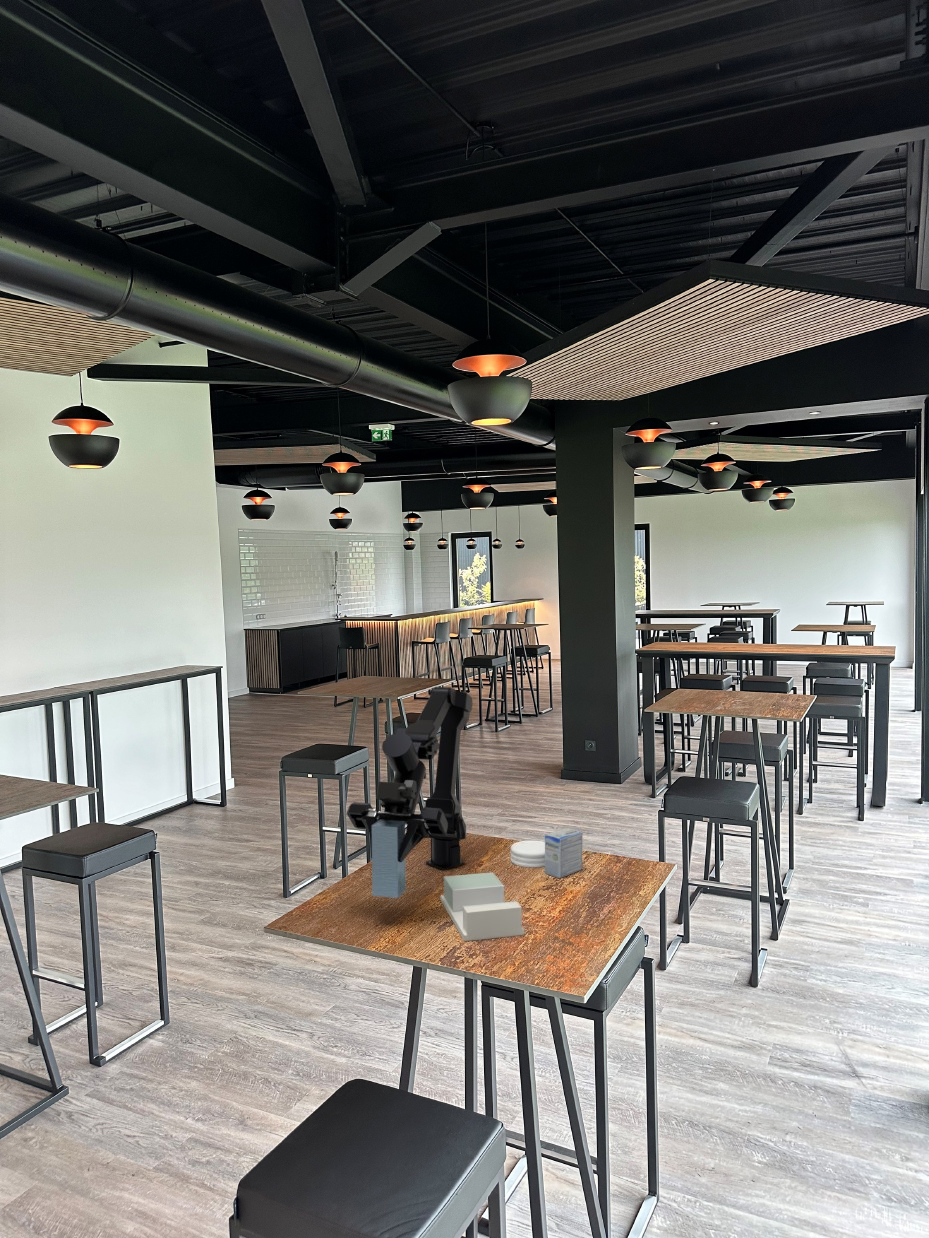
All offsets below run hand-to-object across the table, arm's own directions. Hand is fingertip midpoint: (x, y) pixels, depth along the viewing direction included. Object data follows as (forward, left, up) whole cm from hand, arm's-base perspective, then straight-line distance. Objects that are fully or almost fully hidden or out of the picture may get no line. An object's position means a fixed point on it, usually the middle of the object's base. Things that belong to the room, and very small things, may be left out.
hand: (386, 859), depth 150 cm
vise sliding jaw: (+5, +18, -11) cm, 21 cm away
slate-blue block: (-1, +1, -7) cm, 7 cm away
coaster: (-6, +47, -13) cm, 49 cm away
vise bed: (+9, +15, -12) cm, 21 cm away
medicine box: (+4, +46, -12) cm, 48 cm away
